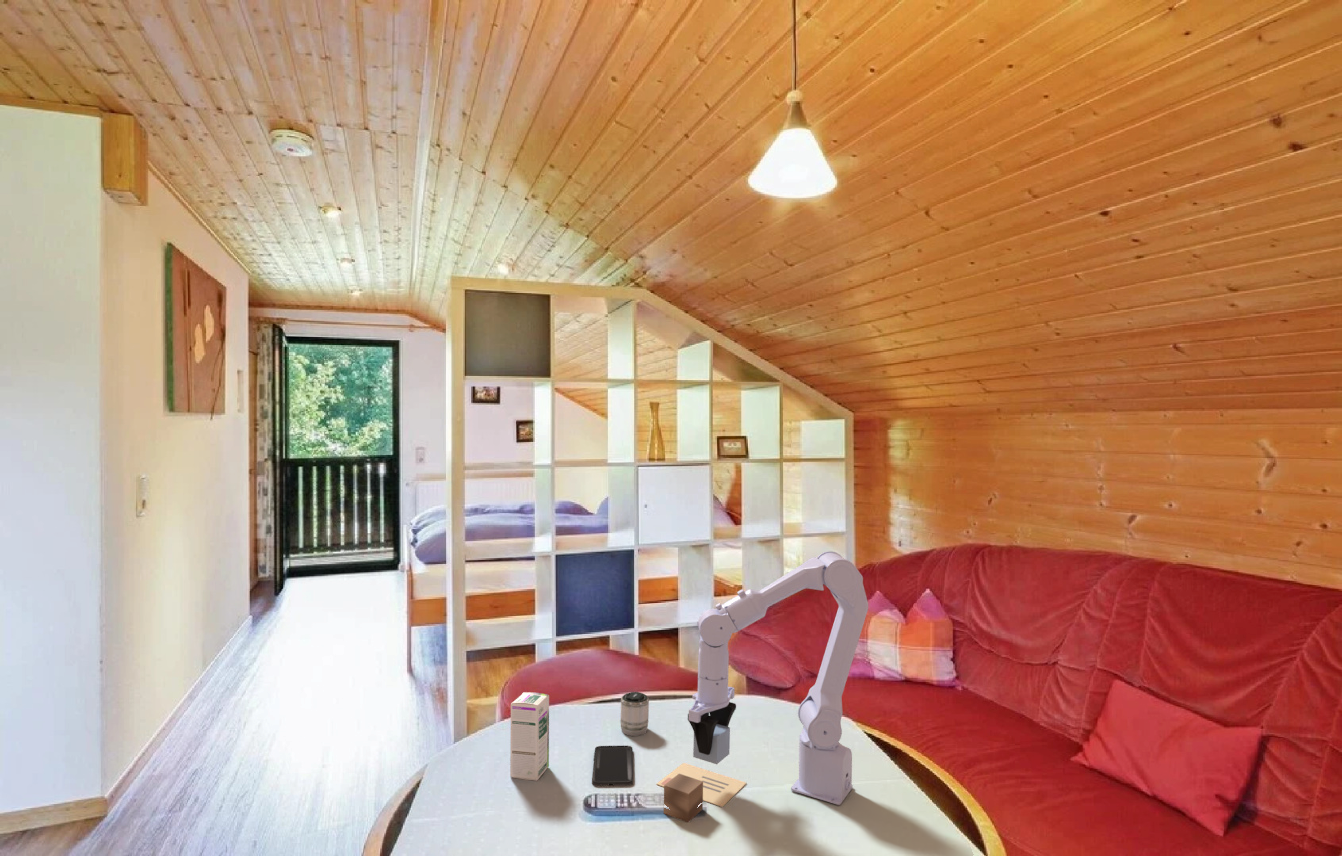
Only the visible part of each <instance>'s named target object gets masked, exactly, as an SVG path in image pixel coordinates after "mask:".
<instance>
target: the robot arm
mask: <svg viewBox="0 0 1342 856" xmlns="http://www.w3.org/2000/svg"><path fill="white" fill-rule="evenodd" d="M824 586H826V588H828V589H829V591H830V593H831V595H832V596H833V598H834V600H835V601H836V603H837V605H838V608H837V612H836V614H835V618H834V622H833V625H832V628H831V631H830V634H829V637H828V641H827V644H826V647H825V651H824V654H823V657H822V661H821V665H820V667H819V671H818V674H817V676H816V677H817V678H816V681H815V684H813V686H811V687H810V688H809V690H808V693H807V694H806V697H805V699H803V701H801V703H800V704H799V706H798V711H797V714H798V720H799V721H800V723H801V724H802V726H803V728H802V730H801V733H800V734H799V740H798V741H799V746H798V747H799V748H798V750H799V754H798V756H799V757H798V760H799V761H798V779H797V780H796V781H795V782H794V783H793V784H792V786H791V787H790V790H791V791H792V792H794V793H799V794H802V795H805V796H808V797H810V798H811V797H812V798H815V799H818V800H820V801H824V802H828V803H831V804H834V805H836V806H840V805H841V804H842V803H843V802H844V800H845V799H846V797H847V796H848V795H849V793H850V792H851V790H852V789H853V786H854V785H853V784H852V782H853V781H852V780H853V779H852V777H853V774H852V773H853V753H852V749H851V748H849V747H847V746H845V745H843V744H841V742H840V740H841V739H842V738H841V737H842V734H843V733H842V732H843V731H842V730H843V729H842V723H841V721H842V717H843V701H842V697H843V694H844V691H845V688H846V687H845V686H846V682H847V680H848V676H849V673H850V671H851V667H852V663H853V660H854V657H855V653H856V651H857V647H858V643H859V641H860V638H861V633H862V630H863V628H864V624H865V620H866V617H867V613H868V611H869V601H868V599H867V598H868V597H867V594H866V590H865V587H864V577H863V575H862V574H861V572H860V571H859V570H858V568H857V567H856V565H855V564H854V563H853V562H851V561H849V560H847V559H846V558H844V557H843V556H842V555H841V554H839V553H838V552H835V551H832V550H828V551H824V552H822V553H820V554H819V555H818V556H817V557H816V556H814V557H812V558H809V559H807V560H806V561H805V562H803V563H802V564H800V565H799V566H797V567H795V568H794V569H792V570H790V571H789V572H787V573H786V574H784V575H783V576H780V577H779V578H778V579H776V580H774V581H773V582H771V583H770V584H768V585H766V586H765V587H763V588H761V590H755V589H751V588H749V589H747V590H744V588H743V589H740V590H738V591H737V592H736V593H737V595H735V596H734V597H733V598H730V599H729V600H727V601H725V602H724V603H722V604H721V603H720V602H719V603H717V604H715V608H709V609H705V610H704V611H703V612H702V613H701V614H700V615H701V616H699V619H698V621H697V628H698V630H699V634H700V635H699V641H698V648H699V649H698V657H697V658H698V659H697V660H698V661H697V663H698V664H697V692H695V693H693V694H692V695H691V696H692V700H694V702H693V704H692V706H691V708H689V709H688V713H687V721H688V722H689V724H690V726H691V728H692V730H693V731H692V732H693V735H694V734H695V737H696V741H697V746H698V750H699V753H703V754H706V755H709V754H710V752H711V748H712V740H713V734H714V730H715V727H716V725H717V724H719V725H723V726H726V727H729V724H730V722H731V719H732V717H733V714H734V713H735V711H736V710H737V704H736V703H735V702H731V700H733V699H735V687H732V686H729V666H730V665H729V661H730V660H729V657H730V656H729V654H730V653H729V652H730V651H729V648H728V647H729V641H730V640H731V637H732V635H733V634H735V633H737V632H739V631H742V630H743V629H746V627H748V626H750V625H752V624H754V623H755V622H756V621H757V622H758V621H759V620H761V619H763V618H765V616H766V614H767V610H768V608H769V607H770V606H772V605H775V604H777V603H778V602H781V601H783V600H784V599H786V598H789V597H790V596H792V595H795V594H796V593H799V592H800V591H802V590H805V589H809V590H814V591H815V590H816V591H824V590H825V588H824Z"/></svg>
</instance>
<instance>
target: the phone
mask: <svg viewBox="0 0 1342 856" xmlns="http://www.w3.org/2000/svg"><path fill="white" fill-rule="evenodd" d="M593 754H594V755H593V766H592V777H591V784H592V786H594V787H629V786H632V785H634V784H633V783H634V762H633V758H634V757H633V756H634V753H633V747H632V745H598V746H596V747H595V748H594V753H593Z"/></svg>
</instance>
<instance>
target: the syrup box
mask: <svg viewBox="0 0 1342 856" xmlns="http://www.w3.org/2000/svg"><path fill="white" fill-rule="evenodd" d="M549 757H550V695H549V694H547V693H540V692H525V691H524V692H522V694H521V695H519V696H518V697H516V698H515V699H514V701H512V702H511V703H510V758H509V760H510V763H509V765H510V773H509V775H510V778H514V779H519V780H527V781H535V782H536V781H539V779H540V777H542V775H543V774H544V773H545V772H546V770H547V769H548V768H549V766H550V765H549V763H550V758H549Z"/></svg>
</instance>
